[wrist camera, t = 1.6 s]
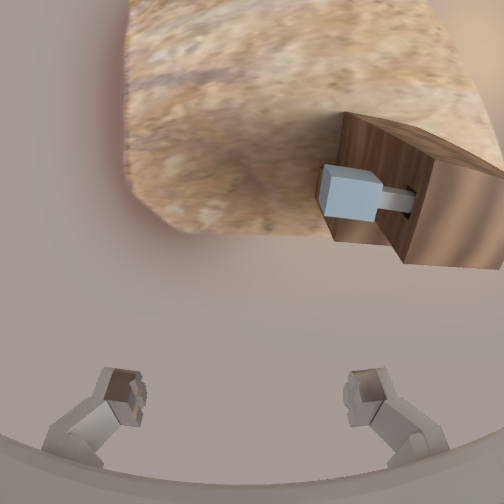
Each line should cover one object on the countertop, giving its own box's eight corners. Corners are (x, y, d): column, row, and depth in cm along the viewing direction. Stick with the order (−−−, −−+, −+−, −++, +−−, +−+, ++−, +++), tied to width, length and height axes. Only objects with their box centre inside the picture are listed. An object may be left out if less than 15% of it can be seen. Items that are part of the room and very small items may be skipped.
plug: (318, 199, 29) (324, 216, 26) (324, 164, 27) (331, 176, 24) (478, 224, 29) (493, 240, 26) (487, 196, 27) (504, 210, 24)
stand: (314, 197, 53) (361, 308, 29) (328, 108, 45) (407, 152, 21) (399, 207, 54) (479, 307, 30) (418, 127, 45) (530, 189, 22)
